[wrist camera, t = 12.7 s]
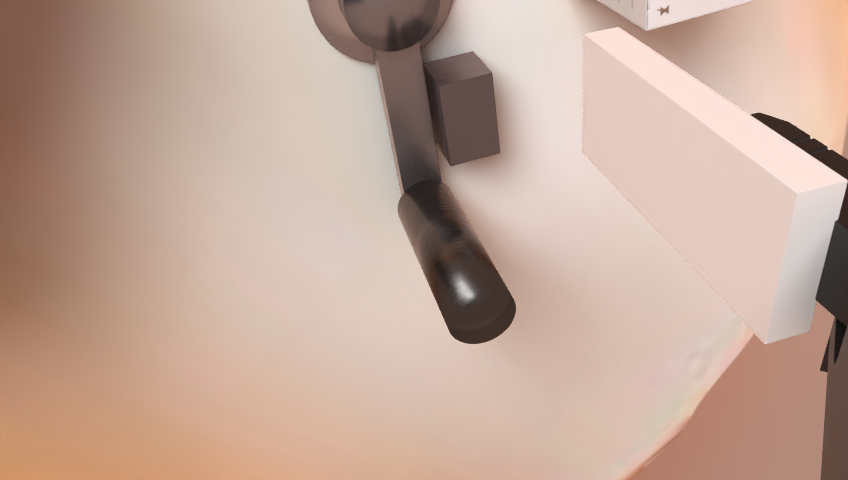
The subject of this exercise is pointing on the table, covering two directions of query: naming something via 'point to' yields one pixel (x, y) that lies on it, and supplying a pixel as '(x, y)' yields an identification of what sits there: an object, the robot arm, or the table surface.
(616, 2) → the small box
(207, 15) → the table surface
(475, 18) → the table surface
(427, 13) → the lever
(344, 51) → the pivot disc
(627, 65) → the robot arm
